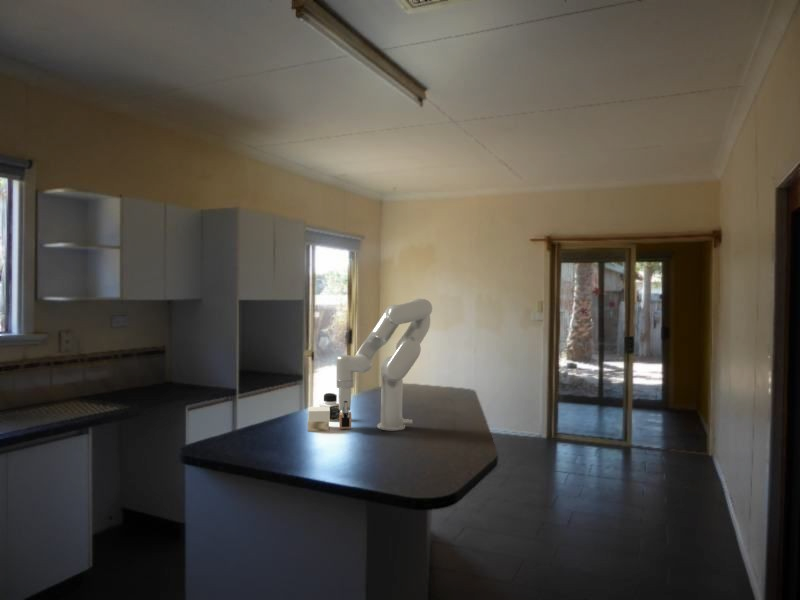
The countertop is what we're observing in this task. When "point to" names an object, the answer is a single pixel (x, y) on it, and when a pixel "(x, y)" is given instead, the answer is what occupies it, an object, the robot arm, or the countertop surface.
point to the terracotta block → (341, 421)
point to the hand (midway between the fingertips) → (345, 424)
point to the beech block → (318, 426)
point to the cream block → (318, 414)
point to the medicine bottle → (331, 405)
